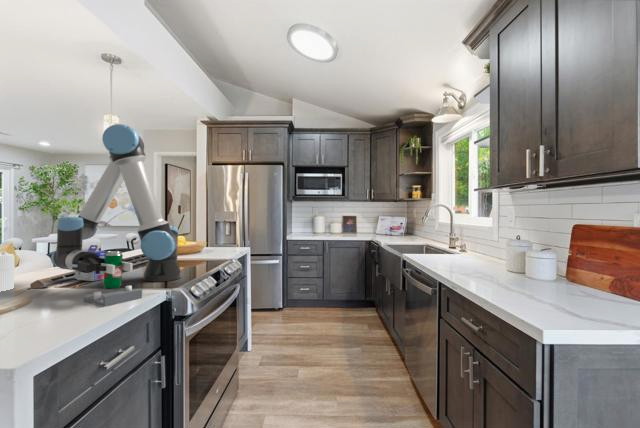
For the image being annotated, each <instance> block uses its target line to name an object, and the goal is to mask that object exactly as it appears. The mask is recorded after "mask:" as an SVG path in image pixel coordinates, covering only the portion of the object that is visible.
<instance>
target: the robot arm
mask: <svg viewBox="0 0 640 428" xmlns="http://www.w3.org/2000/svg"><path fill="white" fill-rule="evenodd" d="M101 140H102V143H103V146H104V147H105V149H106V150H107V151H108V153H109V155H110V156H109V158H108V159H109V163H108V164H107V166H106V168H105V170H104V171H103V173H102V175H101V177H100V178H99V180H98V182H97V183H96V185H95V186H94V189H93V190H92V192H91V194H90V196H89V197H88V199H87V201H86V202H85V203H84V206H83V208H82V209H81V210H80V212H79V214H78V216H60V217H59V218H58V222H57V226H56V229H57V235H56V236H57V238H56V250H54V251H53V253H52V254H51V256H50V261H51V263H52V264H53V266H55V267H57V268H60V269H63V270H69V271H74V272H76V271H77V273H80V272H83V273H91V272H93V271H95V274H100V271H101V272H104V273H109V274H115V265H111V264H105V263H104V258H101V257H99V256H98V255H97V254H96V253H94V252H89V251H84V250H83V241H84V240H88V239H91V238H92V237H94V236H95V235H96V233H97V231H98V228H97V227H98V225H99V224H100V222H101V220H102V218H103V217H104V215H105V214H106V212H107V209H108V208H109V206H110V204H111V203H112V201H113V200H114V197H116V196H115V195H116V194H117V192H118V190H119V189H120V188H121V186H122V184H123V182H124V184H125V187H126V190H127V193H128V196H129V199H130V201H131V205H132V207H133V210H134V212H135V215H136V218H137V221H138V224H139V228H138V229H137V234H138V236H139V237H138V238H139V240H140V250H141V253H143V256H145V257H146V258H148V259H147V264H146V266H145V269H144V272H143V275H142V280H143V281H145V282H170V281H175V280H179V279H181V278H182V272H181V268H180V264H179V261H178V245H179V243H178V241H179V230H178V229H179V228H178V227H177V226H171V225H170V223H169V221H167V220H165V219H164V218H163V216H162V215H163V214H162V213H161V210H160V206H159V204H158V203H159V202H158V201H157V197H156V194H155V192H154V190H153V186H152V183H151V180H150V178H149V174H148V172H147V169H146V166H145V163H144V161H145V160H146V159H147V156H146V153H145V143H144V140H143V139H142V138H141V136H140V135H139V134H138V132H137V131H136V130H135V129H134V128H133V127H130V126H129V125H127V124H124V123H122V124H121V123H116V124H112V125H110V126H108V127H106V129H105V130H104V132H103V133H102V139H101ZM133 264H134V263H132V262H128V260H126V259H124V258H122V271H124V272H130V273H131V272H133V266H134V265H133Z"/></svg>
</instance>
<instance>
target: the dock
mask: <svg viewBox="0 0 640 428" xmlns="http://www.w3.org/2000/svg"><path fill="white" fill-rule="evenodd" d="M132 288H133V286H132V285H126V286H124V290H117V291H111V292H106V293H102V291H101V290H100V291H94V292H93V295H92V296H86V297H85V296H84V297H83V302H87V303H90V304H93V303H94V305H97V304H98V306H101V305H102V306H101V307H109V305H110V306H114V305H117V304H122V303H127V302H131V301H135V300H139V299H142V298H143V288H138V289H137V288H136V289H135V290H134V289H132Z"/></svg>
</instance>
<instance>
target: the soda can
mask: <svg viewBox="0 0 640 428" xmlns="http://www.w3.org/2000/svg"><path fill="white" fill-rule="evenodd" d="M122 259H123V254H122V251H119V250H110V251H106V254H105V258H104V263H105V264H111V265H115V274H109V273H104V279H103V285H102V286H103V288H104V289H106V290H115V289H120V287H121V286H122V278H123V277H122V276H123V275H122V274H123V270H122Z"/></svg>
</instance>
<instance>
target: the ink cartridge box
mask: <svg viewBox="0 0 640 428" xmlns="http://www.w3.org/2000/svg"><path fill="white" fill-rule="evenodd" d="M93 247H94V248H93ZM98 247H99V245H97V244H96V245H94V244H91V245H90V246H89V247H88V249H87V250H83V251H89V252H94V253H96V254H97V255H98V256H99V257H101V258H105V254H106V252H107V251H105V250H97V248H98ZM74 279H77V281H90V282H96V281H101V280H104V272H101V271H100V274H95V271H93V272H91V273H83V272H80V273H77V271H75V275H74Z"/></svg>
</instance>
